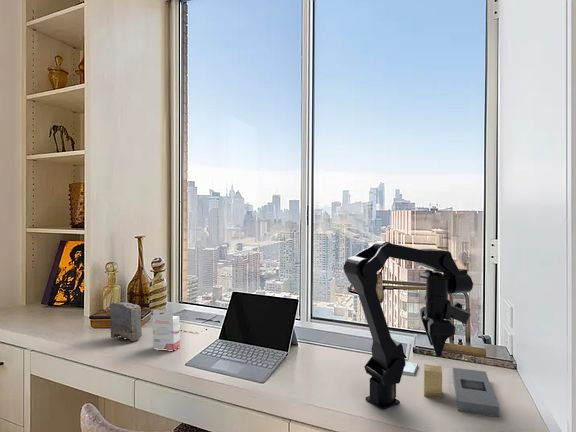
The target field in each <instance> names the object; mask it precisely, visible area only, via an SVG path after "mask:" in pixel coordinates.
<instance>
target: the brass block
mask: <svg viewBox="0 0 576 432" xmlns="http://www.w3.org/2000/svg"><path fill="white" fill-rule="evenodd" d="M423 367H424V369H423V371H424V373H423V376H424V377H423V379H424V380H423V384H424V385H423V396H424V397H428V398H434V399H440V400H441V399H443V368H442V366H441V365H440V366H439V365H434V364H426V363H425V364H423Z"/></svg>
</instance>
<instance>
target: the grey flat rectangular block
mask: <svg viewBox="0 0 576 432" xmlns="http://www.w3.org/2000/svg"><path fill="white" fill-rule="evenodd" d="M452 380H453V387H454V393H455V398H456V406H457V410H458V412H462V413H463V412H464V413H471V414H477V415H483V416H489V417H496V418H499V417H500V413H499V412H500V409H499V407H500V406H499V404H498V401H497V399H496V396H495V393H494V390H493V388H492V384H491V382H490V380H489V376H488V374H487V371H483V370H478V369H476V370H475V369H467V368H458V367H452Z"/></svg>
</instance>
